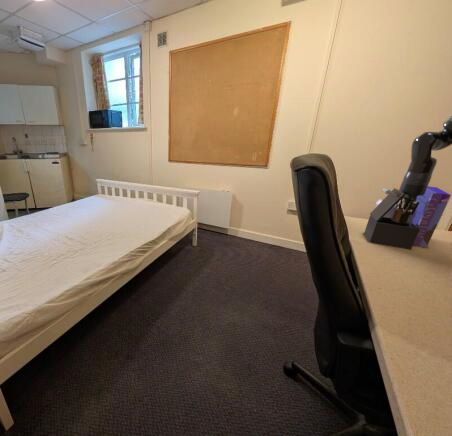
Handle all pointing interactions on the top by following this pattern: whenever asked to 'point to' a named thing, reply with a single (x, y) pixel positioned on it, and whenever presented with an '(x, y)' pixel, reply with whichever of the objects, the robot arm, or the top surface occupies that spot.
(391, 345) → the top surface
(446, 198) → the cereal box
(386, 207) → the lid
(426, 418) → the top surface
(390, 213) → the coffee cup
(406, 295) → the top surface
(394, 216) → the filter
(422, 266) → the top surface
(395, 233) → the dark hinged box
